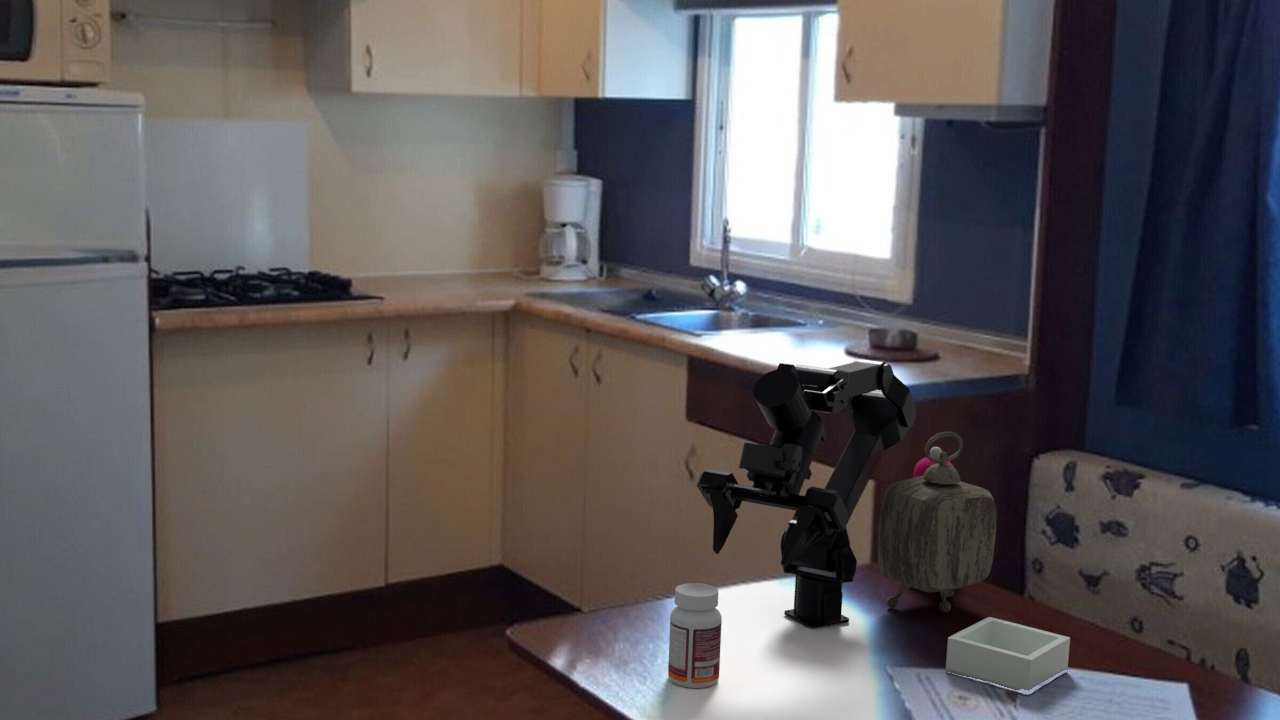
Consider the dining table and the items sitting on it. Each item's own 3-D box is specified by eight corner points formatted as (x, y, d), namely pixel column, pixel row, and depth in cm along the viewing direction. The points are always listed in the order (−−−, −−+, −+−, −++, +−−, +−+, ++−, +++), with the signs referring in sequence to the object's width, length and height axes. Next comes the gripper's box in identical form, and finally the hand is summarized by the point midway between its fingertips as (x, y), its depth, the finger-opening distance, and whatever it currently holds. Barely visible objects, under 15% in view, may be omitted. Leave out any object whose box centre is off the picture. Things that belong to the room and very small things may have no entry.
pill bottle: (724, 674, 189) (728, 584, 188) (712, 692, 184) (716, 600, 182) (674, 668, 191) (678, 578, 189) (661, 685, 185) (665, 593, 183)
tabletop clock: (948, 592, 225) (961, 421, 221) (995, 610, 218) (1009, 434, 213) (873, 606, 217) (884, 430, 213) (918, 626, 210) (931, 444, 205)
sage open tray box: (945, 672, 193) (948, 637, 192) (986, 650, 201) (989, 616, 201) (1028, 696, 186) (1031, 660, 185) (1067, 672, 195) (1070, 637, 194)
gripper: (705, 406, 196) (659, 512, 189) (843, 426, 187) (800, 539, 180) (732, 454, 204) (689, 557, 197) (865, 475, 195) (825, 585, 188)
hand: (748, 558), depth 190 cm, fingers open, 9 cm apart
